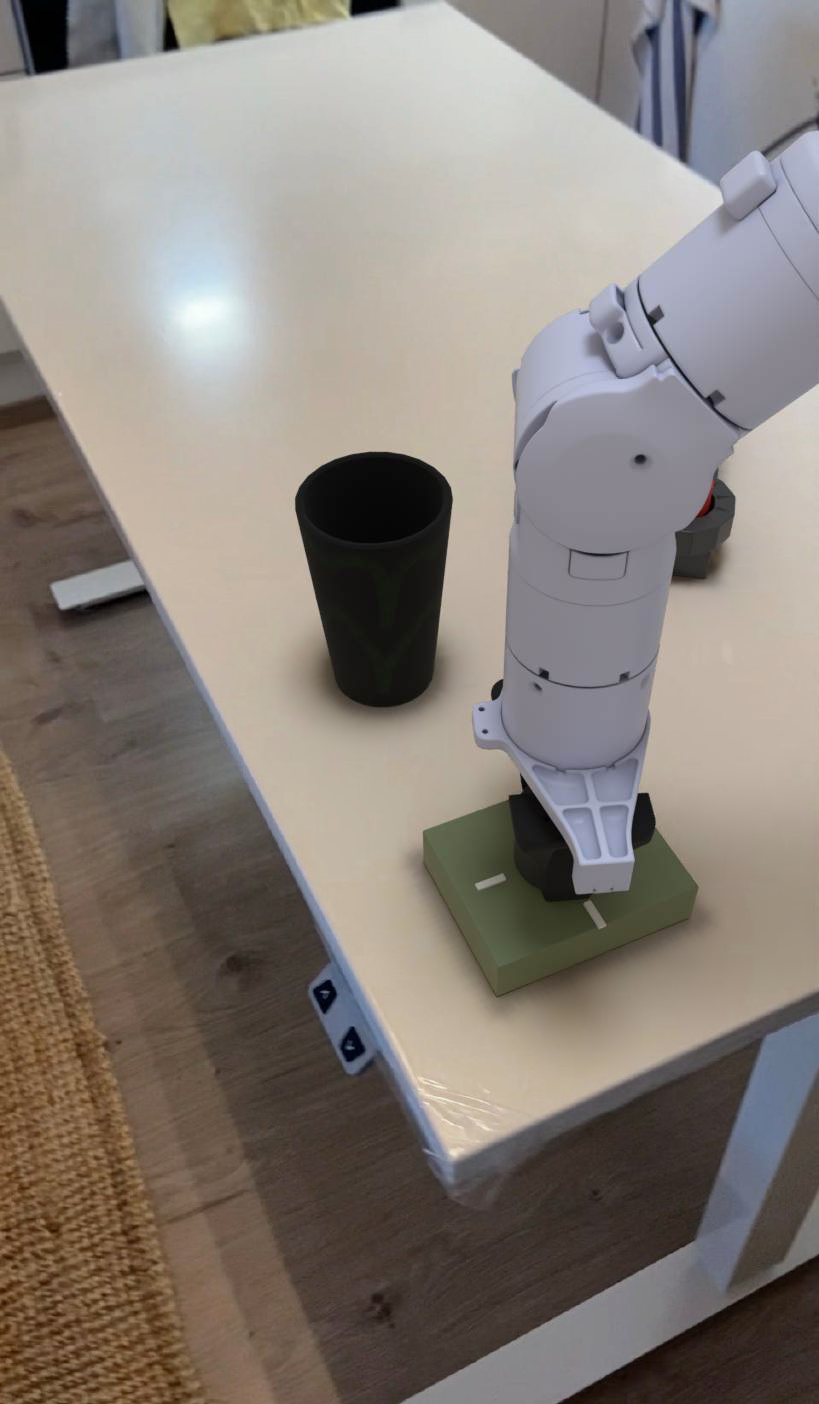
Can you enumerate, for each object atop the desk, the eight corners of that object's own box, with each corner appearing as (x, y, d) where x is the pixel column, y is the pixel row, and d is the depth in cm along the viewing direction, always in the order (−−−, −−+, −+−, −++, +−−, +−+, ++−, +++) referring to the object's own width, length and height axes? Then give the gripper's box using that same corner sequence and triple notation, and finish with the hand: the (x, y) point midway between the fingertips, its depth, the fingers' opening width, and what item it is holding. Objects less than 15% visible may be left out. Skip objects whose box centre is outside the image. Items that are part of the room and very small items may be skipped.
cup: (396, 742, 63) (386, 568, 54) (287, 681, 66) (261, 508, 57) (479, 659, 67) (483, 484, 58) (373, 605, 70) (361, 432, 61)
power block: (576, 397, 85) (580, 347, 82) (733, 413, 83) (743, 362, 80) (537, 567, 72) (541, 515, 69) (721, 590, 70) (733, 537, 67)
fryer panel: (603, 792, 60) (608, 758, 58) (692, 919, 55) (701, 886, 53) (422, 860, 58) (421, 826, 56) (497, 999, 52) (499, 967, 50)
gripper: (455, 519, 49) (454, 737, 59) (499, 793, 39) (489, 1000, 49) (625, 507, 49) (596, 727, 59) (712, 778, 39) (659, 987, 49)
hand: (558, 850), depth 54 cm, fingers closed on timer dial, 4 cm apart
